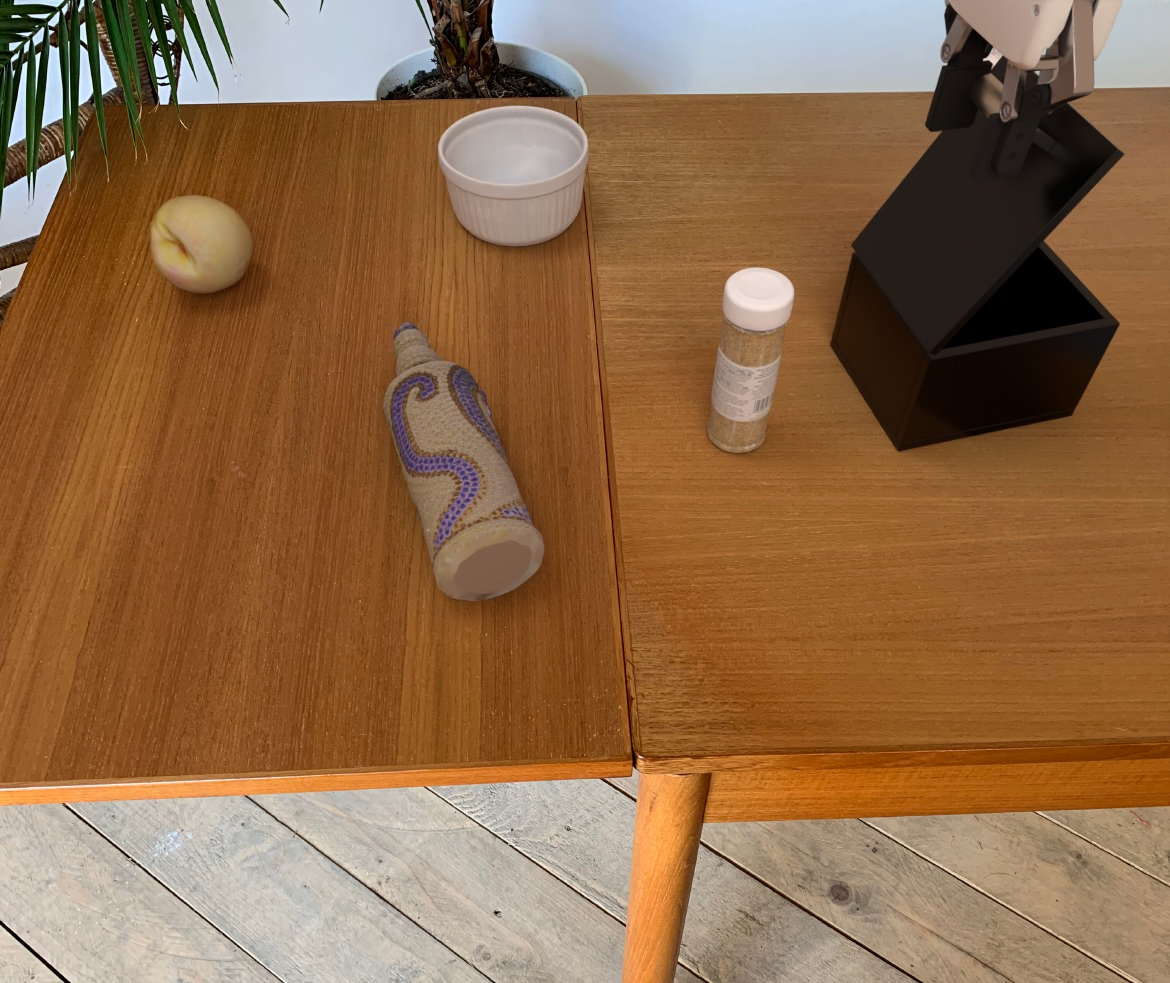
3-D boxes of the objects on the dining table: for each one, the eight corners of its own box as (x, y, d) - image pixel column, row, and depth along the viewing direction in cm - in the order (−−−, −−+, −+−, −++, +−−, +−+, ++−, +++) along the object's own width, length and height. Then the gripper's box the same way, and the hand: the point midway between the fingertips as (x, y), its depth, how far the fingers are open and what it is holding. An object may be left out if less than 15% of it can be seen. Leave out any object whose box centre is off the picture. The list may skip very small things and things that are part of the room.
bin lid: (1014, 53, 66) (968, 19, 63) (1125, 154, 59) (1078, 120, 56) (857, 248, 75) (810, 226, 72) (935, 356, 68) (887, 336, 65)
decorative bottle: (552, 587, 68) (548, 522, 62) (442, 616, 66) (429, 552, 61) (459, 346, 82) (450, 277, 77) (368, 366, 81) (352, 297, 76)
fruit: (152, 284, 87) (118, 200, 81) (238, 247, 90) (212, 164, 84) (192, 327, 84) (160, 243, 77) (281, 287, 87) (256, 203, 81)
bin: (990, 315, 85) (1027, 222, 78) (1072, 416, 77) (1120, 323, 70) (829, 345, 82) (852, 251, 75) (897, 452, 75) (930, 359, 68)
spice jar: (743, 406, 78) (768, 256, 67) (777, 442, 76) (810, 293, 65) (693, 426, 77) (711, 277, 66) (727, 464, 74) (751, 316, 64)
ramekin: (423, 241, 91) (413, 170, 85) (476, 165, 99) (469, 94, 93) (563, 268, 89) (562, 196, 83) (606, 187, 96) (607, 116, 91)
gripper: (1272, -148, 45) (1098, 219, 59) (1064, -258, 55) (958, 80, 69) (1124, -136, 43) (983, 237, 58) (939, -251, 53) (858, 92, 68)
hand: (970, 148), depth 63 cm, fingers open, 5 cm apart
